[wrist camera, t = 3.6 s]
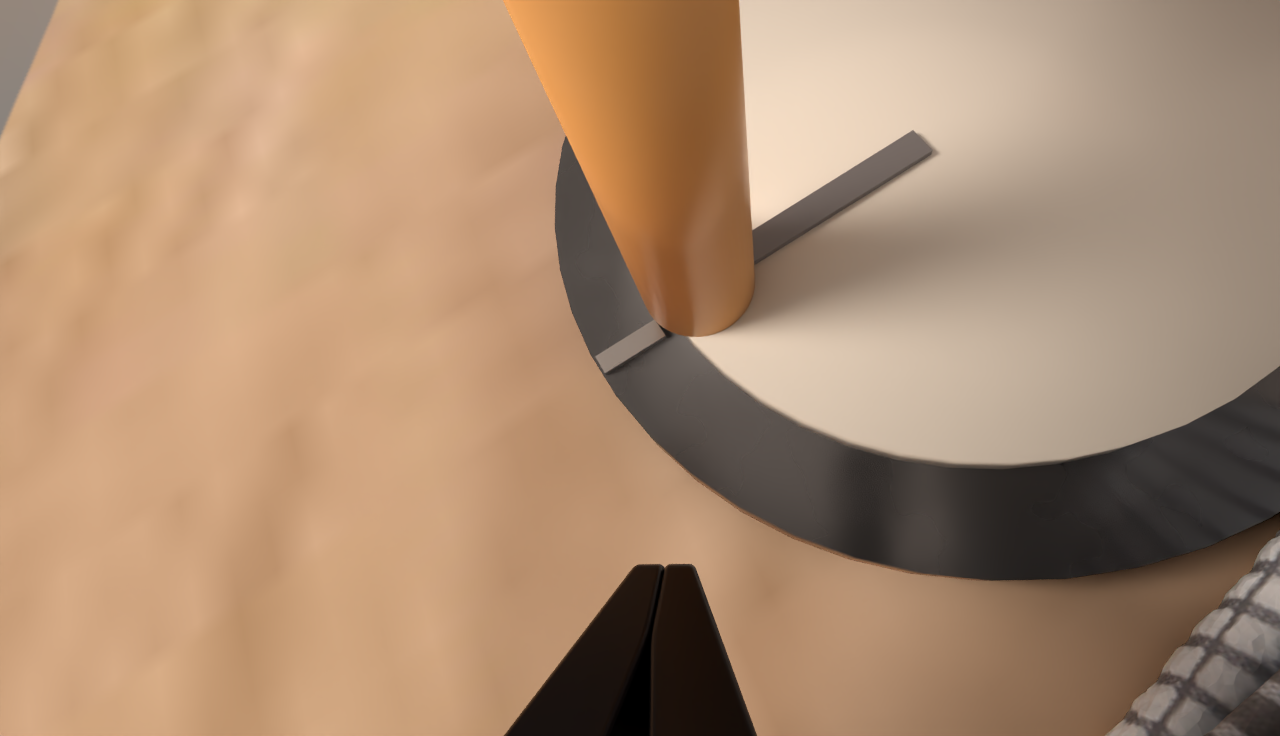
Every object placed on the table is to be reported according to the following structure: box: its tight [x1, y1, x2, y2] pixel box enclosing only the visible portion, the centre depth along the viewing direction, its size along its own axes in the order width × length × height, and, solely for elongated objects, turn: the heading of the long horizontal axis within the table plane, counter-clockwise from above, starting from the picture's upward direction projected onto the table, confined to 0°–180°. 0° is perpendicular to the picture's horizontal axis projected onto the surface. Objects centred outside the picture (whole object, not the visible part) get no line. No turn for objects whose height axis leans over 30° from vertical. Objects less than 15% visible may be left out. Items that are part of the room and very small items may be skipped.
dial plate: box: [555, 136, 1280, 580], centre depth 19 cm, size 23×23×2 cm
